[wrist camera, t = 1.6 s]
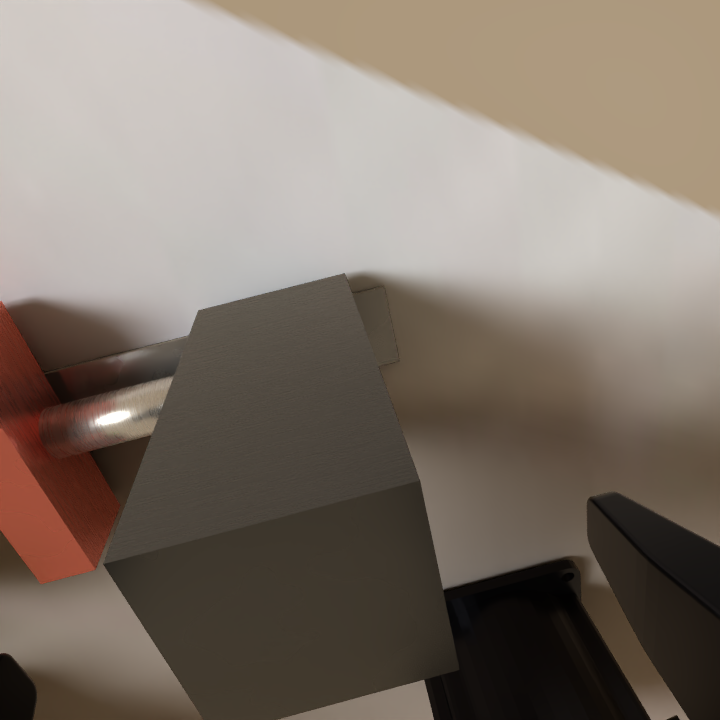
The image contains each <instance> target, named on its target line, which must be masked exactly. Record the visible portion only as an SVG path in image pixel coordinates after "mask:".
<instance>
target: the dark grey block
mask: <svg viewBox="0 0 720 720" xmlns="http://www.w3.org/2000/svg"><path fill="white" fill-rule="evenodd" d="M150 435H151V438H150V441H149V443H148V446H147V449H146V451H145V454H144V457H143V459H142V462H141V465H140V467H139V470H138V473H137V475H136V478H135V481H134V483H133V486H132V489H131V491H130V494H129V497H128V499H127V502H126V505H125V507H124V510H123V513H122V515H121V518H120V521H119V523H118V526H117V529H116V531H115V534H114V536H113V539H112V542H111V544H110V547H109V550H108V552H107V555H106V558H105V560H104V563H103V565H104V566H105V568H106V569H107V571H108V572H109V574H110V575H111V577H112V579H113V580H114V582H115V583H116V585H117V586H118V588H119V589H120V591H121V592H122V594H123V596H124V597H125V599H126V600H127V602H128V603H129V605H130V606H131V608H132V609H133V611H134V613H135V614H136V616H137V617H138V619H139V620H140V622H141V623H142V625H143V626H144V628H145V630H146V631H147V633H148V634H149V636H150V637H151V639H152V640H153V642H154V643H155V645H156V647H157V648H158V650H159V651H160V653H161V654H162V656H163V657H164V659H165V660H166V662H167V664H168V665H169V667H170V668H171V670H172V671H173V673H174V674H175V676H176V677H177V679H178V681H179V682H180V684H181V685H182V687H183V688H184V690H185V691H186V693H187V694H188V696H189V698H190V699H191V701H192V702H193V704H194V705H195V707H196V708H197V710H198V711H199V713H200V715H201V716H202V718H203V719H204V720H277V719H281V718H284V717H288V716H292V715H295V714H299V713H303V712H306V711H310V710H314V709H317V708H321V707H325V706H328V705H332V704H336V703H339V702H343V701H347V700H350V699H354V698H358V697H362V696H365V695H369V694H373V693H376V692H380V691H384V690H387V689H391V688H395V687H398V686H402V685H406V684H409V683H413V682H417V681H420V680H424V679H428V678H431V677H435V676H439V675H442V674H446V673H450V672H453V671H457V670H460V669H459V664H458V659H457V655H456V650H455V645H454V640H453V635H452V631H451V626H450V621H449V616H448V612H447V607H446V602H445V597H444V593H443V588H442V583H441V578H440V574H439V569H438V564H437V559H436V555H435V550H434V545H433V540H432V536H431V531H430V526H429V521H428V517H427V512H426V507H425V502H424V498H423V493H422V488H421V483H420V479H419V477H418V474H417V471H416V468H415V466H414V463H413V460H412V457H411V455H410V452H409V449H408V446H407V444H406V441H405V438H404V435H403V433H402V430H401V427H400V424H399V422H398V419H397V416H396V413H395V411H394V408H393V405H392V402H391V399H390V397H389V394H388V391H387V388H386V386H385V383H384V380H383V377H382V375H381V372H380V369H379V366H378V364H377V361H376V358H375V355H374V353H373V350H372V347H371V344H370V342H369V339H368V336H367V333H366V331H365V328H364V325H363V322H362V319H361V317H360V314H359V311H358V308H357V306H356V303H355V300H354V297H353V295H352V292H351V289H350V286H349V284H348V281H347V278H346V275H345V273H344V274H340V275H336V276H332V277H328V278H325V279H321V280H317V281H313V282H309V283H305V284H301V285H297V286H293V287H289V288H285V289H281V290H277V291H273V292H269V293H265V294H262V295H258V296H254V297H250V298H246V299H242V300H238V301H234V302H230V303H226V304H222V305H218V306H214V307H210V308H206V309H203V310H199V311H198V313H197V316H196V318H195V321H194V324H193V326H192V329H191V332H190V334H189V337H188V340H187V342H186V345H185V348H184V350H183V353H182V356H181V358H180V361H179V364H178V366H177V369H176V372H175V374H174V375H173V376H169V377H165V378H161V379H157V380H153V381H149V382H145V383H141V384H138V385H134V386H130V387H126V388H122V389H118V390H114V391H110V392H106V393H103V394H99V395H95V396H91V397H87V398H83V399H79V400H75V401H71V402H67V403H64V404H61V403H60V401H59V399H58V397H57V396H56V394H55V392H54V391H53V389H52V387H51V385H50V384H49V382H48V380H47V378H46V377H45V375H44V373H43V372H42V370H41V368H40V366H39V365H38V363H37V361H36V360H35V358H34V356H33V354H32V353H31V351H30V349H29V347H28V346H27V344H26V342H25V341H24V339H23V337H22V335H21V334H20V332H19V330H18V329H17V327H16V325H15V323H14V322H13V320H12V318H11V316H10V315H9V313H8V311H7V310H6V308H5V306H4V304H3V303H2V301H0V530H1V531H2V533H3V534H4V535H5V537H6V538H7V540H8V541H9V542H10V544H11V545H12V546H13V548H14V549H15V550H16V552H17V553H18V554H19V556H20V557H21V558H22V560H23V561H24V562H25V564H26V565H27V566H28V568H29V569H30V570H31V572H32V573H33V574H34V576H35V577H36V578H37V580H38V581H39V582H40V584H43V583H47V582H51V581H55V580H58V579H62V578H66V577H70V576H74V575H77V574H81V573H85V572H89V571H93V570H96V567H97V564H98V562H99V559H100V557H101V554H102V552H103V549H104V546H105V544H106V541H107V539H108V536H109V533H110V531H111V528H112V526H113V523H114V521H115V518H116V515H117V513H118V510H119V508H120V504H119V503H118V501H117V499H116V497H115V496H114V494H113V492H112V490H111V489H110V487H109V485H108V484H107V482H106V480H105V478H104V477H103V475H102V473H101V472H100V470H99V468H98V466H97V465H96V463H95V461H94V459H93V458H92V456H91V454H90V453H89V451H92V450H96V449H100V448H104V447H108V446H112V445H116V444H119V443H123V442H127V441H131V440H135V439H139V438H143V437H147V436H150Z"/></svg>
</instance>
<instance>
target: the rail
mask: <svg viewBox="0 0 720 720" xmlns="http://www.w3.org/2000/svg"><path fill="white" fill-rule="evenodd" d="M352 295H353V297H354V300H355V303H356V306H357V308H358V311H359V314H360V317H361V319H362V322H363V325H364V328H365V331H366V333H367V336H368V339H369V342H370V344H371V347H372V350H373V353H374V355H375V358H376V361H377V364H378V366H383V365H387V364H390V363H394V362H398V361H399V356H398V351H397V346H396V341H395V336H394V332H393V327H392V322H391V317H390V312H389V307H388V302H387V298H386V293H385V288H384V286H381V287H377V288H373V289H369V290H365V291H361V292H357V293H353V294H352ZM188 337H189V336H185V337H181V338H177V339H173V340H169V341H165V342H161V343H157V344H153V345H150V346H146V347H142V348H138V349H134V350H130V351H126V352H122V353H118V354H114V355H110V356H106V357H103V358H99V359H95V360H91V361H87V362H83V363H79V364H75V365H71V366H67V367H63V368H59V369H56V370H52V371H48V372H44V375H45V377H46V378H47V380H48V382H49V384H50V385H51V387H52V389H53V391H54V392H55V394H56V396H57V397H58V399H59V401H60V403H61V404H64V403H67V402H71V401H75V400H79V399H83V398H87V397H91V396H95V395H99V394H103V393H106V392H110V391H114V390H118V389H122V388H126V387H130V386H134V385H138V384H141V383H145V382H149V381H153V380H157V379H161V378H165V377H169V376H173V375H174V374H175V372H176V369H177V366H178V364H179V361H180V358H181V356H182V353H183V350H184V348H185V345H186V342H187V340H188Z"/></svg>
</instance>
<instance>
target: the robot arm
mask: <svg viewBox="0 0 720 720" xmlns="http://www.w3.org/2000/svg"><path fill="white" fill-rule="evenodd" d="M587 535H588V541H589V544H590V547H591V549H592V551H593V553H594V555H595V557H596V559H597V561H598V563H599V565H600V567H601V569H602V571H603V573H604V575H605V576H606V578H607V580H608V582H609V584H610V586H611V588H612V590H613V592H614V594H615V596H616V598H617V600H618V601H619V603H620V605H621V607H622V609H623V611H624V613H625V615H626V617H627V619H628V621H629V623H630V625H631V626H632V628H633V630H634V632H635V634H636V636H637V638H638V639H639V641H640V643H641V645H642V647H643V648H644V650H645V652H646V653H647V655H648V657H649V658H650V660H651V661H652V663H653V665H654V666H655V668H656V669H657V671H658V672H659V674H660V675H661V677H662V678H663V680H664V681H665V683H666V684H667V686H668V687H669V689H670V691H671V692H672V694H673V695H674V697H675V698H676V700H677V701H678V703H679V704H680V706H681V707H682V709H683V710H684V712H685V714H686V715H687V717H688V718H689V720H720V546H718V545H716V544H714V543H712V542H711V541H709V540H707V539H705V538H703V537H701V536H699V535H697V534H695V533H694V532H692V531H690V530H688V529H686V528H684V527H682V526H680V525H678V524H677V523H675V522H673V521H671V520H669V519H667V518H665V517H663V516H661V515H660V514H658V513H656V512H654V511H652V510H650V509H648V508H646V507H644V506H643V505H641V504H639V503H637V502H635V501H633V500H631V499H629V498H628V497H626V496H624V495H622V494H620V493H617V492H607V493H603V494H599V495H596V496H592V497H590V498H589V499H588V501H587ZM444 597H445V602H446V607H447V612H448V616H449V621H450V626H451V631H452V635H453V640H454V645H455V650H456V655H457V659H458V664H459V669H460V670H457V671H453V672H450V673H446V674H442V675H439V676H435V677H431V678H428V679H424V680H425V684H426V688H427V692H428V696H429V700H430V704H431V708H432V713H433V717H434V720H651V719H650V717H649V716H648V714H647V712H646V711H645V709H644V707H643V706H642V704H641V702H640V701H639V699H638V697H637V695H636V694H635V692H634V690H633V689H632V687H631V685H630V684H629V682H628V680H627V679H626V677H625V675H624V674H623V672H622V670H621V669H620V667H619V665H618V663H617V662H616V660H615V658H614V657H613V655H612V653H611V652H610V650H609V648H608V647H607V645H606V643H605V642H604V640H603V638H602V636H601V635H600V633H599V631H598V630H597V628H596V626H595V625H594V623H593V621H592V620H591V618H590V616H589V615H588V613H587V611H586V610H585V608H584V606H583V604H582V603H581V582H580V571H579V570H578V568H577V566H576V565H575V563H574V562H573V561H570V560H563V561H559V562H555V563H552V564H548V565H544V566H541V567H537V568H533V569H529V570H526V571H522V572H518V573H514V574H511V575H507V576H503V577H500V578H496V579H492V580H488V581H485V582H481V583H477V584H474V585H470V586H466V587H462V588H459V589H455V590H451V591H447V592H444ZM36 701H37V690H36V686H35V683H34V682H33V680H32V679H31V678H30V677H29V676H28V675H27V673H26V672H25V671H24V670H23V669H22V668H21V666H20V665H19V664H18V663H17V662H16V661H15V659H14V658H13V657H12V656H10V655H9V654H6V653H1V654H0V720H33V717H34V712H35V707H36ZM667 720H680V719H679V718H678V716H677V715H676V716H673V717H671V718H669V719H667Z"/></svg>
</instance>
